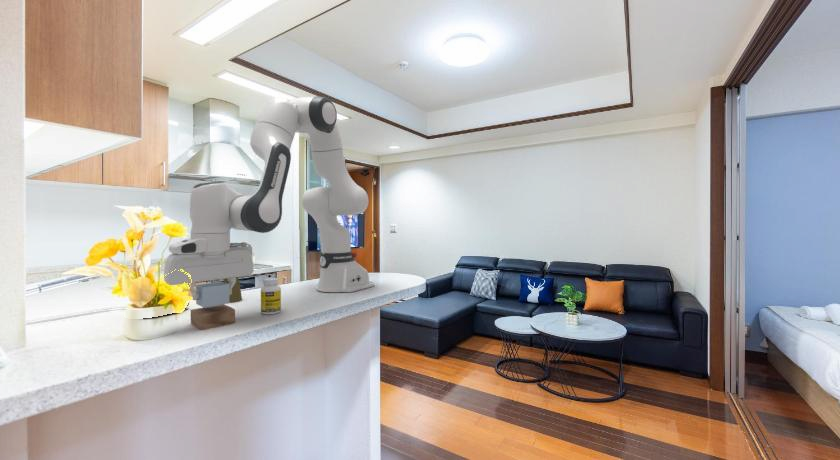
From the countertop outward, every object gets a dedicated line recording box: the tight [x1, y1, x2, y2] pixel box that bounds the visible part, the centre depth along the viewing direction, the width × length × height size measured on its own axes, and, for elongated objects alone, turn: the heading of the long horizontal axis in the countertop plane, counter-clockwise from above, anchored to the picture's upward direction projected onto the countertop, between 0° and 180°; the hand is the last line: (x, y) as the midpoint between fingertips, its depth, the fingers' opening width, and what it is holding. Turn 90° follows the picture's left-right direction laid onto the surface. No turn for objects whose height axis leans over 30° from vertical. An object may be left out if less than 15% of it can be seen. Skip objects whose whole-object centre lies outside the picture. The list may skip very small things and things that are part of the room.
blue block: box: [195, 281, 230, 308], centre depth 94 cm, size 6×6×5 cm
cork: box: [223, 277, 243, 304], centre depth 119 cm, size 6×6×11 cm
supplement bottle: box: [260, 277, 282, 316], centre depth 104 cm, size 5×5×10 cm
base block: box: [190, 304, 236, 331], centre depth 94 cm, size 8×8×4 cm
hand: (212, 297), depth 93 cm, fingers closed on blue block, 6 cm apart
